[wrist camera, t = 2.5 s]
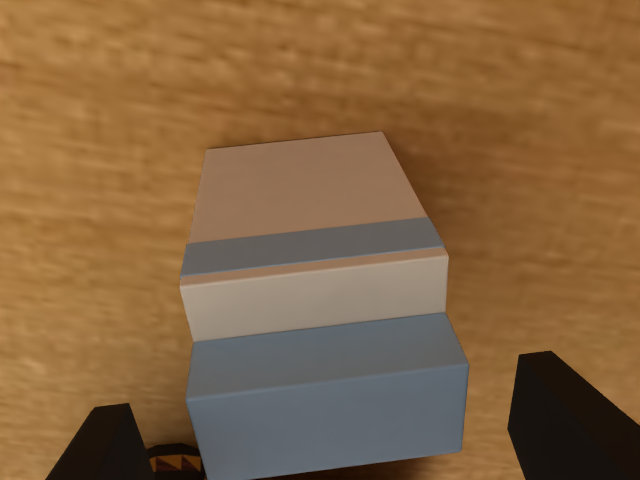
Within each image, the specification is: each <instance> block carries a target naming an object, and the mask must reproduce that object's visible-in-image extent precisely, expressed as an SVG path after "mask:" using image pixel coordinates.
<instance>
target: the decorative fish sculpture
mask: <svg viewBox="0 0 640 480" xmlns="http://www.w3.org/2000/svg"><path fill="white" fill-rule="evenodd" d="M146 452H147V454H148V457H149V460H150V463H151V466H152V468H153V471H154V474H155V477H154V480H204V478H205V475H206V472H205V469H204V465H203V462H202V458H201V455H200V451H199V449H198V448H195V447H192V446H189V445H185V444H182V443H179V444H167V445H157V446H154V447H152V448H150V449H148V450H146Z"/></svg>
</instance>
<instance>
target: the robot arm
mask: <svg viewBox="0 0 640 480" xmlns="http://www.w3.org/2000/svg"><path fill="white" fill-rule="evenodd" d="M507 429H508V432H509V435H510V437H511V440H512V443H513V446H514V449H515V452H516V455H517V458H518V460H519V463H520V466H521V469H522V471H523V474H524V477H525V479H526V480H640V425H638V424H637V423H636V422H635V421H634V420H632V419H631V418H630V417H629V416H627V415H626V414H625V413H624V412H623V411H621V410H620V409H619V408H618V407H617V406H615V405H614V404H613V403H612V402H611V401H610V400H608V399H607V398H606V397H605V396H604V395H602V394H601V393H600V392H599V391H598V390H597V389H595V388H594V387H593V386H592V385H591V384H590V383H588V382H587V381H586V380H585V379H584V378H583V377H581V376H580V375H579V374H578V373H577V372H576V371H574V370H573V369H572V368H571V367H570V366H569V365H567V364H566V363H565V362H564V361H563V360H561V359H560V358H559V357H558V356H557V355H556V354H554V353H553V352H552V351H544V352H536V353H528V354H520V355H519V358H518V364H517V371H516V377H515V383H514V390H513V396H512V403H511V409H510V415H509V422H508V428H507ZM154 477H155V474H154V471H153V468H152V466H151V463H150V460H149V457H148V454H147V452H146V449H145V446H144V443H143V441H142V438H141V435H140V432H139V429H138V427H137V424H136V421H135V418H134V415H133V413H132V410H131V407H130V404H129V403H124V404H116V405H108V406H100V407H95V408H94V409H93V410H92V411H91V412H90V414H89V415H88V417H87V418H86V420H85V421H84V423H83V424H82V426H81V427H80V429H79V430H78V432H77V433H76V435H75V436H74V438H73V439H72V441H71V442H70V444H69V445H68V447H67V448H66V450H65V451H64V453H63V454H62V456H61V457H60V459H59V460H58V462H57V463H56V465H55V466H54V468H53V469H52V470H51V472H50V473H49V475H48V476H47V478H46V479H45V480H154Z"/></svg>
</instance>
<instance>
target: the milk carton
mask: <svg viewBox="0 0 640 480" xmlns="http://www.w3.org/2000/svg"><path fill="white" fill-rule="evenodd" d="M448 262H449V256H448V254H447V252H446V250H445V245H444V243H443V242H442V240H441V238H440V236H439V234H438V232H437V230H436V228H435V227H434V225H433V223H432V221H431V219H430V217H428V216H427V214H426V213H425V211H424V209H423V207H422V205H421V203H420V201H419V199H418V198H417V196H416V194H415V192H414V190H413V188H412V186H411V184H410V182H409V181H408V179H407V177H406V175H405V173H404V171H403V169H402V167H401V166H400V164H399V162H398V160H397V158H396V156H395V154H394V152H393V151H392V149H391V147H390V145H389V143H388V141H387V139H386V137H385V135H384V134H383V132H382V131H380V132H370V133H361V134H351V135H341V136H332V137H322V138H312V139H303V140H293V141H283V142H274V143H264V144H255V145H245V146H235V147H226V148H216V149H207V150H206V151H205V156H204V162H203V167H202V172H201V177H200V182H199V188H198V193H197V198H196V203H195V209H194V214H193V219H192V224H191V230H190V235H189V240H188V244H186V249H185V254H184V259H183V264H182V269H181V274H180V280H181V282H180V287H179V288H180V292H181V296H182V300H183V304H184V308H185V312H186V316H187V320H188V324H189V328H190V332H191V336H192V340H193V346H192V353H191V360H190V368H189V375H188V382H187V389H186V397H185V401H186V405H187V408H188V412H189V415H190V419H191V423H192V426H193V430H194V433H195V437H196V440H197V444H198V447H199V451H200V455H201V458H202V462H203V465H204V469H205V472H206V476H207V479H208V480H251V479H258V478H266V477H274V476H281V475H289V474H297V473H304V472H312V471H320V470H327V469H335V468H342V467H350V466H358V465H365V464H373V463H381V462H388V461H396V460H404V459H411V458H419V457H427V456H434V455H442V454H450V453H457V452H460V451H461V449H462V439H463V428H464V417H465V407H466V396H467V385H468V375H469V362H468V360H467V358H466V356H465V354H464V351H463V349H462V347H461V345H460V343H459V340H458V338H457V336H456V334H455V332H454V329H453V327H452V325H451V323H450V321H449V318H448V316H447V314H446V313H445V312H446V295H447V279H448Z"/></svg>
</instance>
